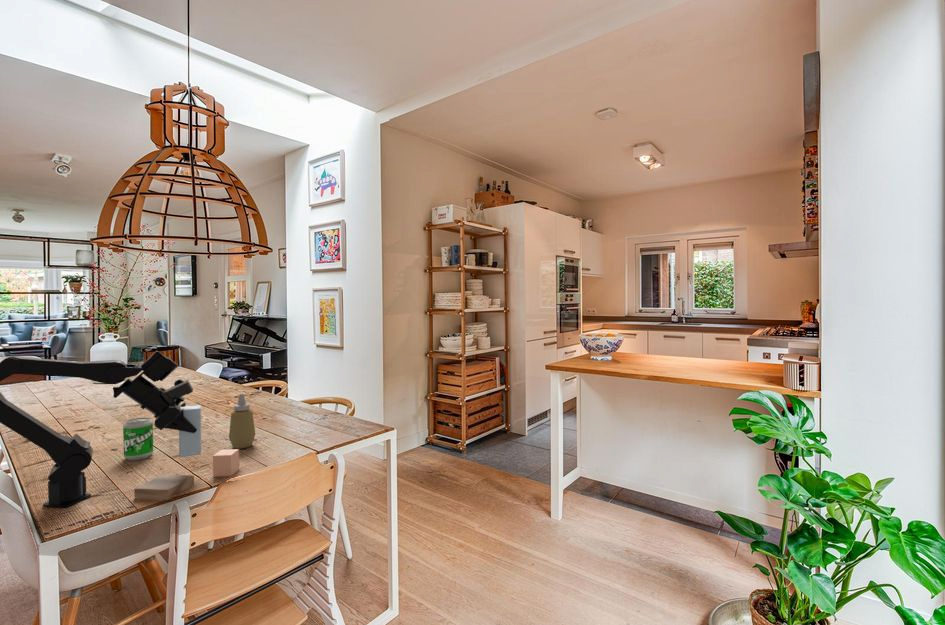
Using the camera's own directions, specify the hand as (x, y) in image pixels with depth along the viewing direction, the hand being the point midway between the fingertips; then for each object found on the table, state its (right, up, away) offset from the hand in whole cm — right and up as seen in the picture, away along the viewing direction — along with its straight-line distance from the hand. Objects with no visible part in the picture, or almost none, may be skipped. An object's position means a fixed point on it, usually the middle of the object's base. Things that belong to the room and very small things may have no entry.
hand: (196, 429), depth 123 cm
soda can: (-28, -13, +15) cm, 35 cm away
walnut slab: (-2, -14, -10) cm, 17 cm away
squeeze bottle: (0, -13, +25) cm, 28 cm away
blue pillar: (-1, -7, -1) cm, 7 cm away
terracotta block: (+7, -13, +3) cm, 15 cm away
